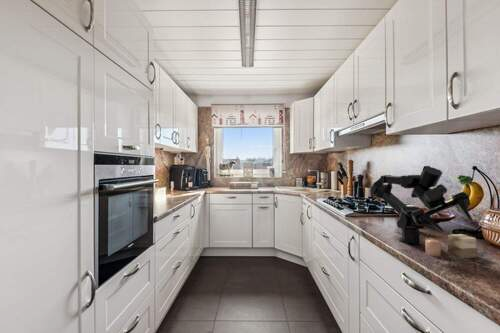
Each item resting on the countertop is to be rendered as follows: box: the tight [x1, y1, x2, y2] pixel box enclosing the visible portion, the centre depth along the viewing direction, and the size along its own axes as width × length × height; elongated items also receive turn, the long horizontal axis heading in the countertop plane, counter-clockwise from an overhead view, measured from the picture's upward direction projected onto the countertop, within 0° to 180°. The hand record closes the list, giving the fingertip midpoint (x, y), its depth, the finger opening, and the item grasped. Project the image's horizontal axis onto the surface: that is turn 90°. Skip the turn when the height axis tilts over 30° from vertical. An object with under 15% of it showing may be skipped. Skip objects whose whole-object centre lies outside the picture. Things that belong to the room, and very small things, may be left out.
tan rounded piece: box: [424, 238, 442, 258], centre depth 94 cm, size 5×5×5 cm
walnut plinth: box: [447, 243, 479, 259], centre depth 93 cm, size 6×6×4 cm
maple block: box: [447, 233, 477, 249], centre depth 93 cm, size 6×6×4 cm
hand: (457, 226), depth 85 cm, fingers open, 9 cm apart
